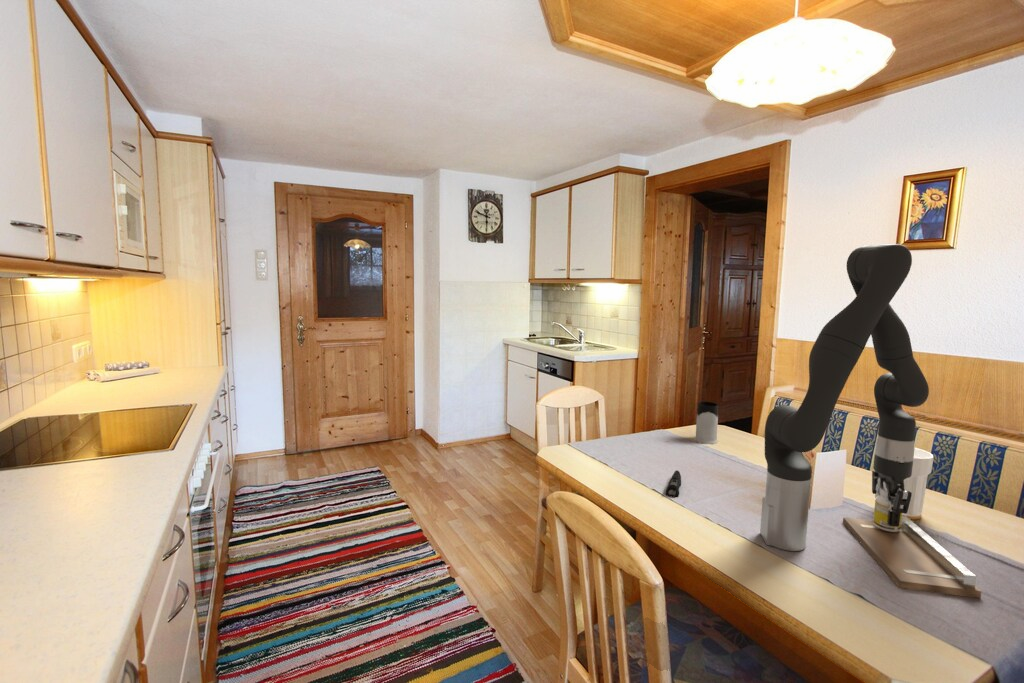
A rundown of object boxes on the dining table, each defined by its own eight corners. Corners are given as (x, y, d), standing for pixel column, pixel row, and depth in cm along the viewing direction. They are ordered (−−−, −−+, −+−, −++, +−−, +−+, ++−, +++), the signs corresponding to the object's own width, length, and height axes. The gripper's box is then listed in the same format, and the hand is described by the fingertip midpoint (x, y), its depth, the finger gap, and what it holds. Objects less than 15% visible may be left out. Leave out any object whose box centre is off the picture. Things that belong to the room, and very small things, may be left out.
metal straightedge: (963, 586, 98) (964, 574, 98) (896, 524, 123) (897, 515, 123) (975, 587, 98) (976, 576, 98) (905, 525, 123) (906, 516, 123)
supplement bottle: (888, 521, 124) (892, 485, 123) (905, 532, 119) (910, 494, 117) (867, 522, 124) (871, 485, 123) (884, 532, 118) (888, 494, 117)
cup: (878, 515, 131) (885, 454, 129) (870, 499, 141) (876, 441, 139) (932, 525, 126) (939, 461, 124) (920, 507, 136) (927, 448, 134)
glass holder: (694, 442, 191) (696, 405, 189) (693, 432, 204) (695, 397, 202) (718, 445, 188) (720, 407, 186) (715, 434, 201) (717, 399, 199)
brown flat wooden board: (899, 587, 100) (900, 580, 100) (842, 522, 127) (843, 517, 127) (980, 598, 97) (981, 590, 97) (904, 529, 124) (905, 523, 124)
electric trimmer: (683, 480, 156) (683, 470, 155) (678, 499, 142) (678, 488, 141) (671, 478, 157) (671, 468, 157) (665, 496, 143) (665, 486, 143)
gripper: (862, 444, 127) (856, 505, 129) (891, 464, 113) (883, 532, 115) (896, 446, 125) (889, 508, 127) (928, 467, 111) (920, 536, 113)
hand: (886, 519), depth 121 cm, fingers closed on supplement bottle, 5 cm apart
